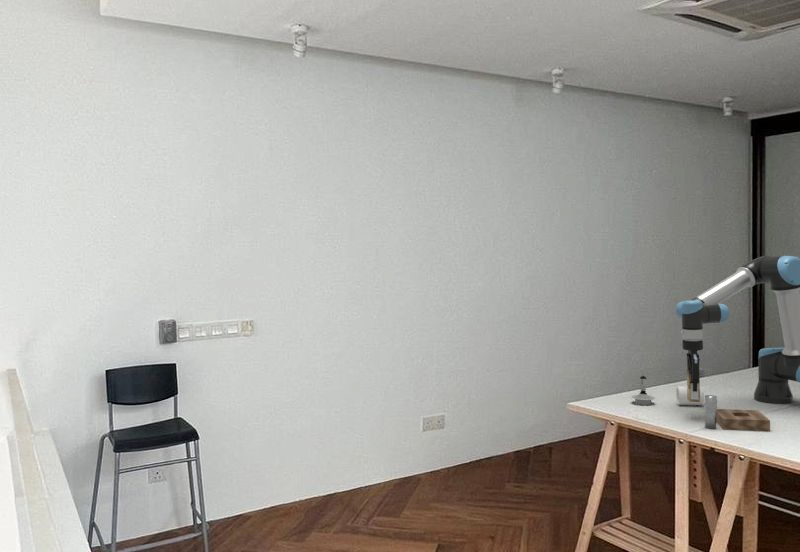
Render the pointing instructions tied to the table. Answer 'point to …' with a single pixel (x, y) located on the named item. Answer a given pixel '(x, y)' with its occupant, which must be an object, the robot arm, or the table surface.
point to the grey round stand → (643, 396)
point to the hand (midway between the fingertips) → (693, 397)
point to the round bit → (710, 411)
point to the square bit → (690, 387)
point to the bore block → (742, 420)
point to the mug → (682, 396)
